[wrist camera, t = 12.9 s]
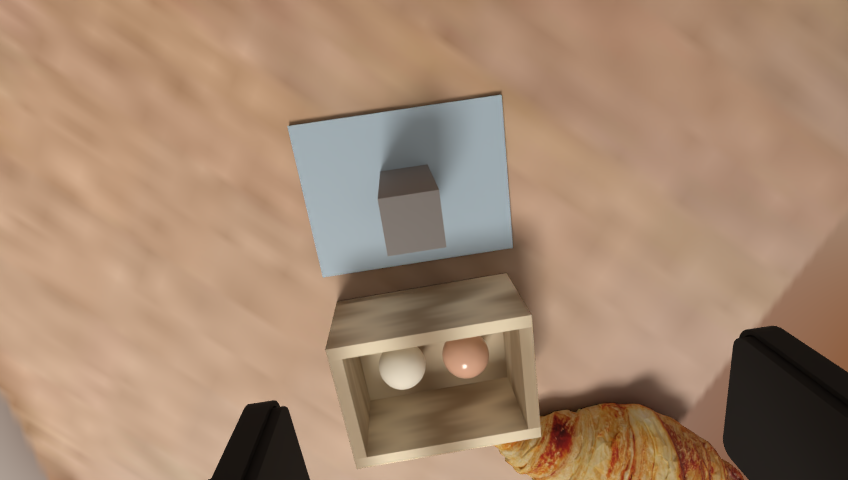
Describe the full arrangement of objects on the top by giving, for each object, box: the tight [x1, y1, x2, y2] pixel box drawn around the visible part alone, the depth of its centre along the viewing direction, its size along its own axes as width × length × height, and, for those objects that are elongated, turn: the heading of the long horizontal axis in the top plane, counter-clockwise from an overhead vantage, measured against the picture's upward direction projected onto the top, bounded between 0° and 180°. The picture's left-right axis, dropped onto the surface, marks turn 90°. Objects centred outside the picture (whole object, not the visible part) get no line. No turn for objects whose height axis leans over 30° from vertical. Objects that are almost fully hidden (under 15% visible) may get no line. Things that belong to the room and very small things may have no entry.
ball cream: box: [379, 347, 426, 390], centre depth 31 cm, size 3×3×3 cm
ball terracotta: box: [442, 336, 489, 379], centre depth 31 cm, size 3×3×3 cm
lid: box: [287, 95, 513, 277], centre depth 26 cm, size 13×10×8 cm
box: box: [325, 273, 541, 469], centre depth 30 cm, size 12×9×6 cm
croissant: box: [494, 403, 744, 480], centre depth 35 cm, size 21×10×8 cm, turn 77°
